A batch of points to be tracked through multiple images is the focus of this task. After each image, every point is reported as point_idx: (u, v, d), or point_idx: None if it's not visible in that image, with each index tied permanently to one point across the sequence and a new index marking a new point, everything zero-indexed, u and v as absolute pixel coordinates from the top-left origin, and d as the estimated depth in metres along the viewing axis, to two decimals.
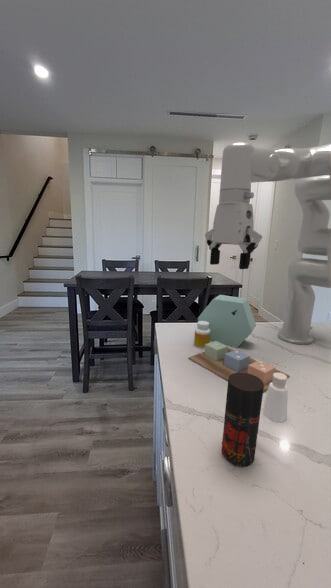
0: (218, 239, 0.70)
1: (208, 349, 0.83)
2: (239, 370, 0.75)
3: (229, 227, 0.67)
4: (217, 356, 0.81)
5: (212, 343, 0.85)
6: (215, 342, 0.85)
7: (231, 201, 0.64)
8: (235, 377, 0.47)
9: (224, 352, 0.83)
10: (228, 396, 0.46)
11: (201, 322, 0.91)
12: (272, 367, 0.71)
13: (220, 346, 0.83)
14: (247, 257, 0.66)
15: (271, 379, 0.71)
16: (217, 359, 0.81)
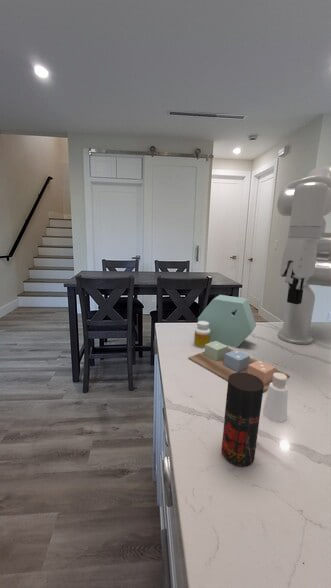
0: (302, 275, 0.68)
1: (208, 349, 0.83)
2: (239, 370, 0.75)
3: (311, 262, 0.69)
4: (217, 356, 0.81)
5: (212, 343, 0.85)
6: (215, 342, 0.85)
7: (319, 238, 0.68)
8: (235, 377, 0.47)
9: (224, 352, 0.83)
10: (228, 396, 0.46)
11: (201, 322, 0.91)
12: (272, 367, 0.71)
13: (220, 346, 0.83)
14: None
15: (271, 379, 0.71)
16: (217, 359, 0.81)
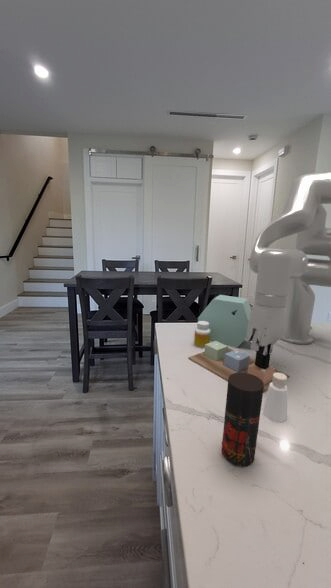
0: (267, 342, 0.66)
1: (208, 349, 0.83)
2: (239, 370, 0.75)
3: (277, 328, 0.67)
4: (217, 356, 0.81)
5: (212, 343, 0.85)
6: (215, 342, 0.85)
7: (285, 305, 0.66)
8: (235, 377, 0.47)
9: (224, 352, 0.83)
10: (228, 396, 0.46)
11: (201, 322, 0.91)
12: (272, 368, 0.71)
13: (220, 346, 0.83)
14: None
15: (271, 379, 0.71)
16: (217, 359, 0.81)
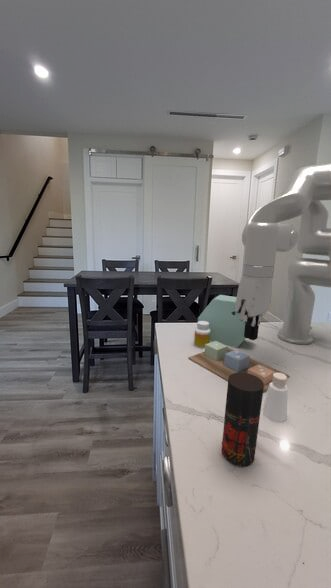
0: (255, 313, 0.68)
1: (208, 349, 0.83)
2: (239, 370, 0.75)
3: (265, 299, 0.69)
4: (217, 356, 0.81)
5: (212, 343, 0.85)
6: (215, 342, 0.85)
7: (272, 277, 0.68)
8: (235, 377, 0.47)
9: (224, 352, 0.83)
10: (228, 396, 0.46)
11: (201, 322, 0.91)
12: (271, 371, 0.71)
13: (220, 346, 0.83)
14: None
15: None
16: (217, 359, 0.81)
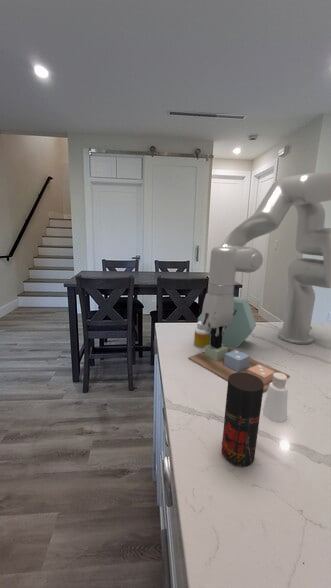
0: (218, 325, 0.78)
1: (208, 351, 0.83)
2: (239, 370, 0.75)
3: (227, 313, 0.80)
4: (216, 358, 0.81)
5: None
6: None
7: (233, 294, 0.78)
8: (235, 377, 0.47)
9: (224, 354, 0.83)
10: (228, 396, 0.46)
11: None
12: (271, 371, 0.71)
13: (220, 348, 0.83)
14: None
15: None
16: None
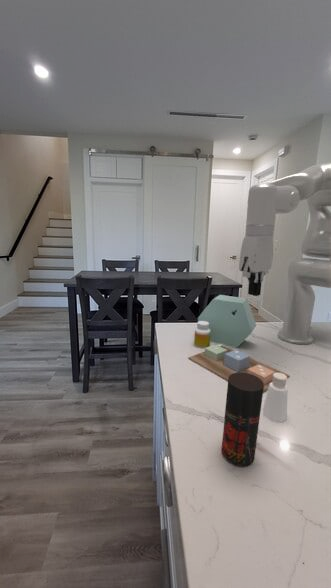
0: (257, 269, 0.75)
1: (207, 353, 0.83)
2: (239, 370, 0.75)
3: (266, 257, 0.75)
4: (216, 360, 0.81)
5: (211, 347, 0.85)
6: (215, 346, 0.86)
7: (273, 235, 0.74)
8: (235, 377, 0.47)
9: (224, 356, 0.83)
10: (228, 396, 0.46)
11: (201, 322, 0.91)
12: (271, 371, 0.71)
13: (220, 350, 0.83)
14: None
15: None
16: None
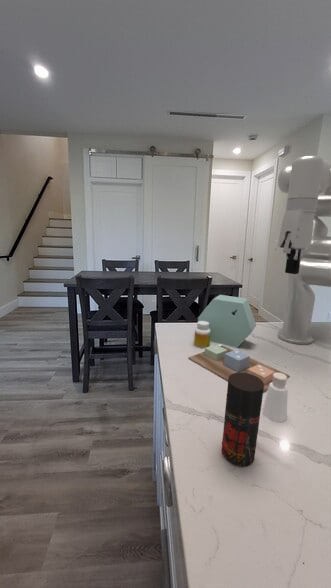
0: (299, 245, 0.72)
1: (207, 353, 0.83)
2: (239, 370, 0.75)
3: (307, 233, 0.73)
4: (216, 360, 0.81)
5: (211, 347, 0.85)
6: (215, 346, 0.86)
7: (316, 210, 0.72)
8: (235, 377, 0.47)
9: (224, 356, 0.83)
10: (228, 396, 0.46)
11: (201, 322, 0.91)
12: (271, 371, 0.71)
13: (220, 350, 0.83)
14: None
15: None
16: None
